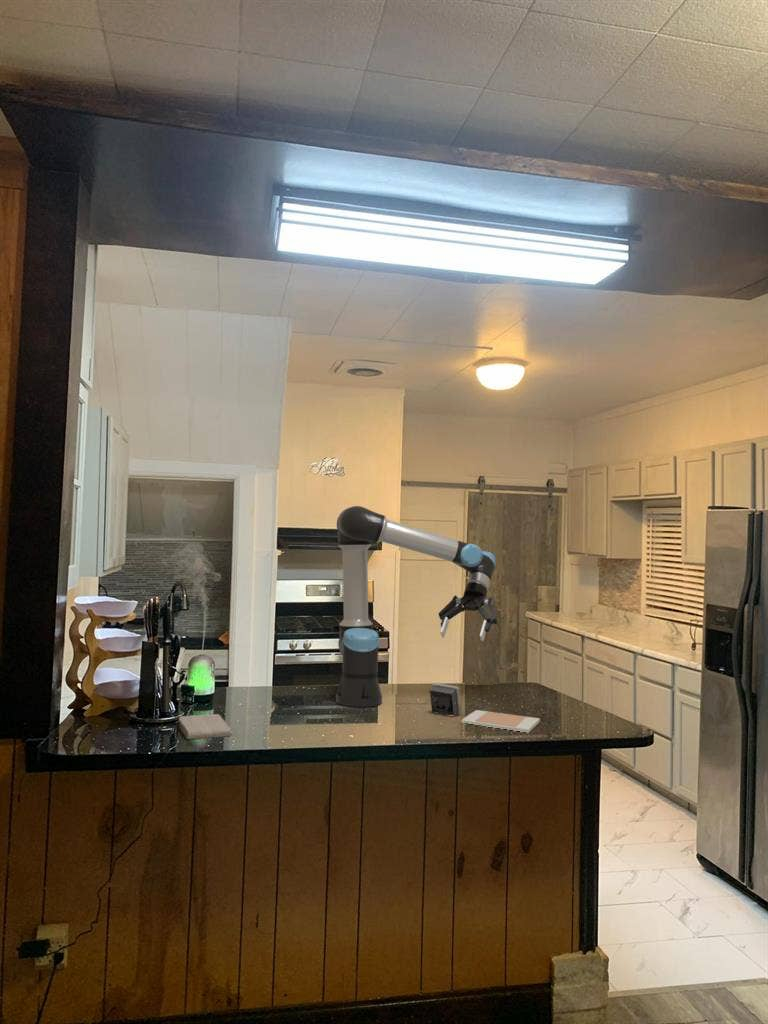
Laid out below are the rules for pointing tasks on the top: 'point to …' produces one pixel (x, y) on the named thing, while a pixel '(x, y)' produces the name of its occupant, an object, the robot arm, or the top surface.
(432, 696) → the electrical switch
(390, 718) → the top surface
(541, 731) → the top surface
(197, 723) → the washcloth
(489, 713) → the mounting plate
